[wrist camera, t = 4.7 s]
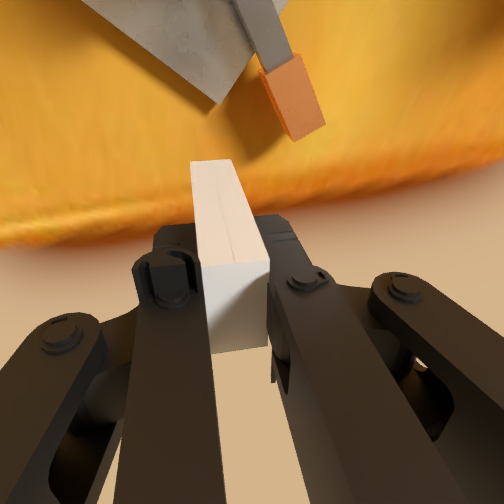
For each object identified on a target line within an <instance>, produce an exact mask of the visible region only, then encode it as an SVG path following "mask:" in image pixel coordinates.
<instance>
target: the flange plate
mask: <svg viewBox="0 0 504 504" xmlns="http://www.w3.org/2000/svg"><path fill="white" fill-rule="evenodd" d="M81 1H83V2H84V3H85V4H87V5H88V6H89V7H91V8H92V9H93V10H95V11H96V12H97V13H98V14H100V15H101V16H102V17H104V18H105V19H106V20H108V21H109V22H110V23H112V24H113V25H114V26H116V27H117V28H118V29H120V30H121V31H122V32H124V33H125V34H126V35H127V36H129V37H130V38H131V39H133V40H134V41H135V42H137V43H138V44H139V45H141V46H142V47H143V48H145V49H146V50H147V51H149V52H150V53H151V54H152V55H154V56H155V57H156V58H158V59H159V60H160V61H162V62H163V63H164V64H166V65H167V66H168V67H170V68H171V69H172V70H174V71H175V72H176V73H178V74H179V75H180V76H181V77H183V78H184V79H185V80H187V81H188V82H189V83H191V84H192V85H193V86H195V87H196V88H197V89H199V90H200V91H201V92H203V93H204V94H205V95H207V96H208V97H209V98H210V99H212V100H213V101H214V102H216V103H217V104H218V105H221V103H222V101H223V100H224V98H225V97H226V95H227V94H228V92H229V91H230V89H231V88H232V86H233V85H234V83H235V82H236V80H237V79H238V77H239V76H240V74H241V73H242V71H243V69H244V68H245V66H246V65H247V63H248V62H249V60H250V59H251V57H252V56H253V54H254V53H255V50H254V48H253V45H252V43H251V41H250V39H249V36H248V34H247V32H246V29H245V27H244V25H243V23H242V20H241V18H240V16H239V13H238V11H237V9H236V7H235V4H234V2H233V0H81ZM272 1H273V3H274V6H275V9H276V11H277V14H278V16H279V15H280V13H281V12H282V10H283V8H284V7H285V5H286V4H287V2H288V1H289V0H272Z"/></svg>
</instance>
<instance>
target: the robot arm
mask: <svg viewBox="0 0 504 504" xmlns="http://www.w3.org/2000/svg"><path fill="white" fill-rule="evenodd" d="M190 170H191V181H192V192H193V203H194V214H195V223H189V224H178V225H167V226H162V227H161V228H160V229H159V230H158V232H157V233H156V234H155V235H154V240H153V250H152V252H149V253H148V254H145V255H143V256H142V257H141V258H140V259H138V260H137V261H136V262H135V263H134V265H133V267H132V274H133V278H134V282H135V286H136V290H137V293H138V298H139V305H138V306H137V307H136V308H134V309H133V310H131V311H130V312H128V313H126V314H124V315H121V316H119V317H116V318H114V319H111V320H108V321H105V322H102V323H100V324H99V321H98V320H97V319H96V318H95V317H93V316H92V315H90V314H86V313H80V312H77V313H67V314H63V315H60V316H57V317H54V318H51V319H49V320H48V321H46V322H44V323H43V324H41V325H40V326H38V327H37V328H36V329H34V330H33V331H32V332H31V333H30V334H29V335H28V336H27V337H26V339H25V340H24V341H23V342H22V344H21V345H20V346H19V348H18V349H17V350H16V351H15V353H14V354H13V355H12V356H11V358H10V359H9V360H8V361H7V363H6V364H5V365H4V367H3V368H2V369H1V370H0V504H97V501H98V499H99V496H100V493H101V490H102V488H103V485H104V482H105V479H106V477H107V474H108V472H109V469H110V466H111V464H112V461H113V458H114V456H115V452H116V450H117V448H118V445H119V442H120V440H121V447H120V454H119V463H118V471H117V477H116V485H115V492H114V500H113V504H227V503H226V494H225V484H224V475H223V465H222V455H221V446H220V436H219V427H218V417H217V408H216V398H215V390H214V389H215V388H214V379H213V370H212V361H211V354H216V353H223V352H229V351H236V350H243V349H249V348H257V347H263V346H267V345H268V335H269V339H270V342H271V345H272V361H271V383H275V381H276V380H277V384H278V388H279V391H280V395H281V398H282V402H283V406H284V409H285V413H286V417H287V420H288V424H289V428H290V431H291V435H292V439H293V442H294V446H295V450H296V453H297V457H298V461H299V464H300V467H301V471H302V475H303V479H304V482H305V486H306V490H307V493H308V497H309V500H310V504H504V337H502V336H501V335H499V334H498V333H497V332H495V331H494V330H492V329H491V328H490V327H488V326H487V325H486V324H484V323H483V322H482V321H480V320H479V319H478V318H476V317H475V316H473V315H472V314H470V313H469V312H467V311H466V310H465V309H464V308H462V307H461V306H460V305H458V304H457V303H455V302H454V301H453V300H451V299H450V298H448V297H447V296H446V295H444V294H443V293H441V292H440V291H439V290H437V289H436V288H435V287H433V286H432V285H431V284H429V283H428V282H426V281H424V280H422V279H420V278H419V277H417V276H413V275H410V274H407V273H400V272H389V273H383V274H381V275H379V276H377V277H375V279H374V281H373V283H372V286H371V288H362V287H351V286H345V285H339V284H336V282H335V280H334V279H333V278H332V276H331V275H329V273H328V272H327V271H325V270H323V269H321V268H319V267H317V266H313V265H312V263H311V261H310V259H309V258H308V256H307V254H306V252H305V250H304V249H303V247H302V245H301V243H300V241H299V240H298V238H297V236H296V234H295V233H294V232H293V229H292V227H291V225H290V224H289V222H288V221H287V220H285V219H284V218H282V217H281V216H279V215H278V214H274V215H264V216H253V215H252V212H251V210H250V207H249V205H248V202H247V200H246V197H245V194H244V192H243V189H242V187H241V184H240V182H239V179H238V177H237V174H236V171H235V169H234V166H233V164H232V161H231V159H225V160H210V161H194V162H190ZM416 358H418V359H419V360H420V361H422V362H423V363H424V364H425V365H426V366H427V367H428V368H426V367H423V366H422V365H420V364H419V363H418V362H417V361H416ZM121 437H122V439H121Z"/></svg>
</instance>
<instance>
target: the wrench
mask: <svg viewBox="0 0 504 504" xmlns="http://www.w3.org/2000/svg"><path fill="white" fill-rule="evenodd" d="M233 2H234V4H235V7H236V9H237V11H238V13H239V16H240V18H241V20H242V23H243V25H244V27H245V29H246V32H247V34H248V36H249V39H250V41H251V43H252V45H253V48H254V50H255V52H256V55H257V57H258V59H259V62H260V64H261V66H262V69H260V70H258V73H259V75H260V78H261V80H262V82H263V84H264V87H265V89H266V91H267V93H268V96H269V98H270V100H271V102H272V104H273V107H274V109H275V111H276V113H277V116H278V118H279V120H280V122H281V125H282V127H283V129H284V131H285V133H286V134H287V135H288V136H289V137H290V139H291V140H292V141H293V142H296V141H297V140H299V139H301V138H303V137H305V136H306V135H308V134H310V133H312V132H313V131H315V130H317V129H319V128H320V127H322V126H324V125H326V123H325V120H324V118H323V115H322V112H321V109H320V107H319V104H318V101H317V98H316V96H315V93H314V90H313V87H312V85H311V82H310V79H309V76H308V74H307V71H306V68H305V65H304V63H303V60H302V57H301V55H300V54H297V53H294V52H292V51H291V48H290V46H289V43H288V40H287V38H286V35H285V33H284V30H283V27H282V25H281V22H280V19H279V17H278V14H277V11H276V9H275V6H274V3H273V1H272V0H233Z"/></svg>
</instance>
